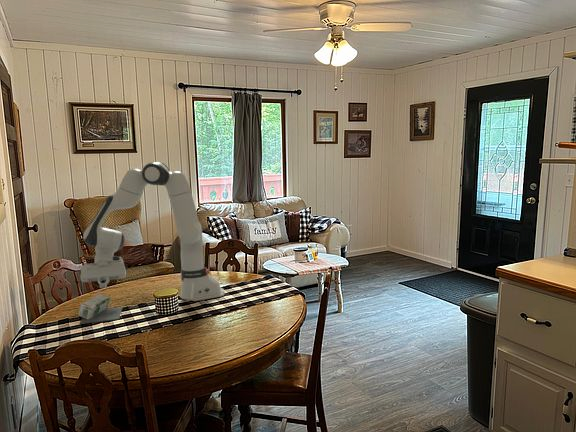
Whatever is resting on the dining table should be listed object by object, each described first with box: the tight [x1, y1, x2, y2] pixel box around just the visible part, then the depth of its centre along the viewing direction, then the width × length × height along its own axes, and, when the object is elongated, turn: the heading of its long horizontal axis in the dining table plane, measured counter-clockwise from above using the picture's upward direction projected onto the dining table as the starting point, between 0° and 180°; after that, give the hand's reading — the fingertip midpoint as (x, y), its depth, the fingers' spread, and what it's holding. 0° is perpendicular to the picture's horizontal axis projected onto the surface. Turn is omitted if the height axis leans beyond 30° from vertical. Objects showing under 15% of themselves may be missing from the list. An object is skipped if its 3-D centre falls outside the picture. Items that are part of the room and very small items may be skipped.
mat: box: [79, 306, 123, 325], centre depth 193 cm, size 16×16×1 cm
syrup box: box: [77, 293, 111, 319], centre depth 194 cm, size 6×6×14 cm
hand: (103, 287), depth 201 cm, fingers closed
